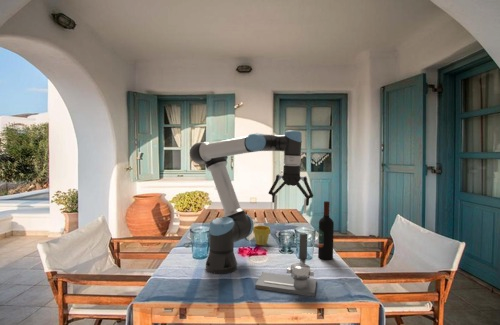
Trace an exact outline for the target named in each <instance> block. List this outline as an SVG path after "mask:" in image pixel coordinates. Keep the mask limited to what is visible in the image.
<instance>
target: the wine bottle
mask: <svg viewBox="0 0 500 325" xmlns="http://www.w3.org/2000/svg"><path fill="white" fill-rule="evenodd" d="M334 227H335V226H334V220H333V218H331V217H330V201H324V202H323V216H322V217H321V218H320V219H319V222H318V241H317V242H318V246H317V247H318V248H317V249H318V250H317V256H318V259H319V260H321V261H324V262H325V261H326V262H327V261H328V262H329V261H333V259H334V231H335V230H334Z"/></svg>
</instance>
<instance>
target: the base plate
mask: <svg viewBox="0 0 500 325" xmlns="http://www.w3.org/2000/svg"><path fill="white" fill-rule="evenodd" d="M254 285H255V286H254V288H255V289H258V290H266V291H272V292H278V293H279V292H280V293H287V294H294V295H299V296H307V297H308V296H309V297H315V295H316V289H317V288H316V287H317V278H314V277H310V278H309V279H308V280H304V281H300V280H295V279H293V278H292V277H291V274H281V273H274V272H272V273H271V272H264V271H262V272H261V274H260V276H259V278H258V280H257V281H256V283H255V284H254Z"/></svg>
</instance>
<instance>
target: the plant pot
mask: <svg viewBox="0 0 500 325" xmlns="http://www.w3.org/2000/svg"><path fill="white" fill-rule="evenodd" d="M252 233H253V235H254V239H255V244H256V245H258V246H266V245H267V244H268V240H269V236H270V234H271V227H270V226H268V225H255V226H254V228H253V231H252Z"/></svg>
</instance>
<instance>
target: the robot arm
mask: <svg viewBox="0 0 500 325" xmlns="http://www.w3.org/2000/svg"><path fill="white" fill-rule="evenodd" d="M302 137H303V136H302V132H301V131H300V130H285V131H284V134H264V133H259V132H256V133H250V134H249V135H246V136H245V135H244V136H240V137H235V138H230V139H224V140H219V141H214V142H209V141H208V142H207V141H204V142H201V141H200V142H196V143H194V144H193V145H191V147H190V149H189V157H190V160H192V162H193V163H195V164H197V165H205V168H206V170H207V171H209V172H210V173H211V176H212V180H213V182H214V185H215V188H216V190H217V193H218V197H219V200H220V202H221V205H222V209H223V211H224V216H222V217H217V218H214V219H212V221H210V223H209V227H208V228H209V229H208V233H209V234H208V235H209V238H208V240H209V243H208V245H209V246H208V248H209V253H208V256H207V258H206V262H205V270H206V271H207V272H209V273H211V274H215V275H216V274H217V275H224V274H225V275H226V274H229V273H232V272H235V271H236V270H238V262H237V261H238V260H237V259H236V258H237V257H236V255H235V251H234V250H235V249H234V245H235V244H234V243H236V242H238V241H239V242H240V240H244V239H247V237H249V236H251V235H252V233H253V228H254V227H255V226H254V220H253V218H252V217H251V216H250V215H249V214H246V211H245V209H243V208H241V205H240V203H239V199H238V197H237V194H236V192H235V189H234V186H233V183H232V180H231V178H230V174H229V172H228V169H227V164H228V157H229V156H230V157H231V156H237V155H243V154H249V153H255V152H256V153H257V152H283V164H284V165H283V174H282V175H281V174H276V176H275V180H274V181H273V183H272V185H271V187H270V189H269V191H268V195H271V196H272V198H271V203H273V211H276V210H277V209H278V208H277V207H278V206H277V205H278V195H277V193H279V192H280V190H282V188H283V187H285V185H287V186H293V187H294V186H296V187H297V188H298V190H300V192H301V194H303V196H304V199H303V200H304V201H303V214H306V213H307V207H308V206H309V205H310V199H312V198H314V193H313V191H312V189H311V187H310V185H309V183H308V178H307V177H308V176H301V166H300V165H301V163H302V162H301V159H302V143H303V140H302V139H303V138H302ZM281 179H282V181H283V182H282V183H281V184H280V185H279V186H277V184H278V183H279V181H280V180H281ZM300 181H301V182H303V183H304V185H305V188H306V190H305V189H304V187H303V186H302V185H301V183H300ZM276 186H277V188H276ZM275 188H276V189H275ZM274 189H275V191H274Z"/></svg>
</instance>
